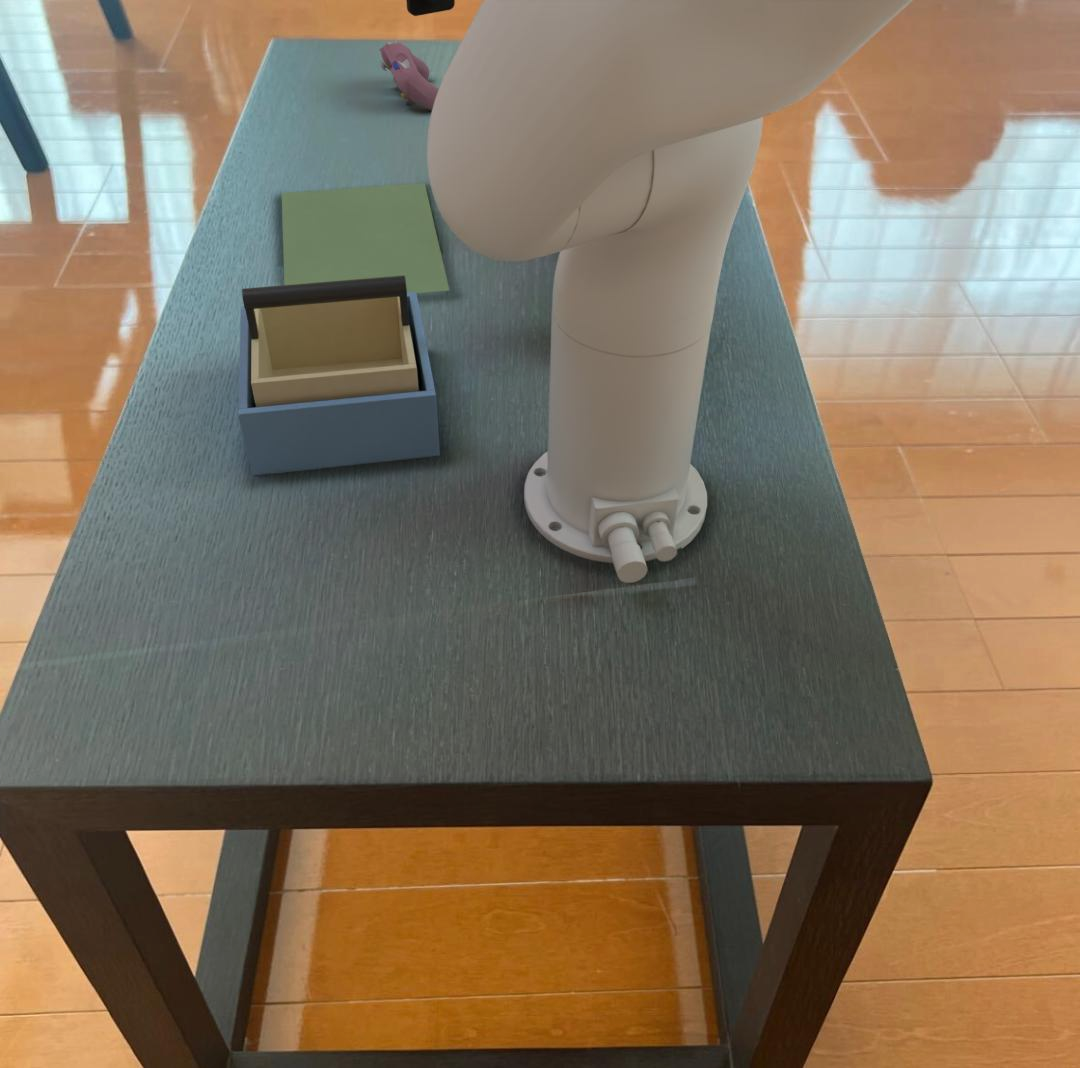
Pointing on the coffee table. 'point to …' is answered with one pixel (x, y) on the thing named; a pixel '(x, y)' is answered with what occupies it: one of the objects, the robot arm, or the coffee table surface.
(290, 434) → the blue bin
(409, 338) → the cream bin
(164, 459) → the coffee table surface
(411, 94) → the pink curved piece
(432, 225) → the mat
